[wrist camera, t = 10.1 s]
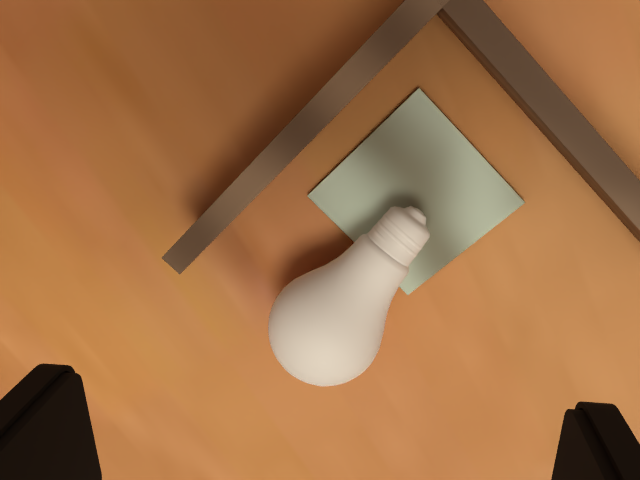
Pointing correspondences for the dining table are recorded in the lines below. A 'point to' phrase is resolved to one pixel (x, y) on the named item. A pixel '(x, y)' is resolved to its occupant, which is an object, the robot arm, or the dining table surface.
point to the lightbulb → (345, 302)
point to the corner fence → (425, 148)
